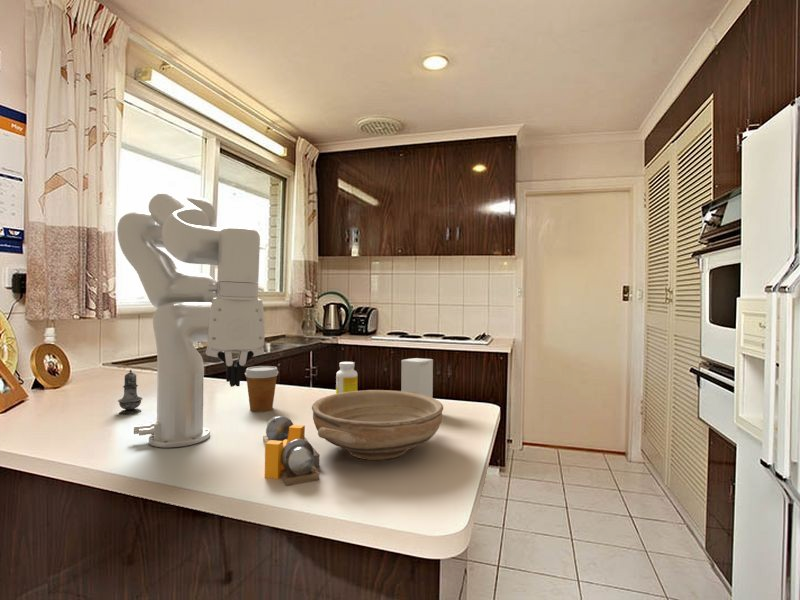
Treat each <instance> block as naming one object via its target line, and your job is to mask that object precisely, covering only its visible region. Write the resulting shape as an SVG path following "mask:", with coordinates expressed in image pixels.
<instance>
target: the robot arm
mask: <svg viewBox="0 0 800 600" xmlns="http://www.w3.org/2000/svg"><path fill="white" fill-rule="evenodd" d="M216 219H217V218H216V210H215V207H214V206H213V204H212V203H211V202H210V201H209V200H207V199H205V198H202V197H197V196H192V195H186V194H182V193H176V192H167V191H166V192H165V191H164V192H160V193H157V194H155V195H153V196H152V198H151V199H150V200H149V203H148V212H146V211H145V212H144V211H135V212H129V213H126V214H124V215H123V216H121V217H120V218H119V221H118V224H117V234H116V235H117V239H118V243H119V247H120V250H121V252H122V254H123V255H124V257H125V259H126V260H127V261H128V263H129V264H130V265H131V267H132V268H133V269H134V271H136V274H137V275H138V278H139V280H140V282H141V285H142V286H143V289H144V291H145V293H146V296H147V297H148V300H149V302H150V304H151V305H152V306H153V307H154V308H156V310H155V311H154V313H153V316H152V326H153V332H154V337H155V344H156V356H157V357H156V359H157V360H156V362H157V363H156V364H157V365H156V366H157V371H156V372H157V373H156V375H157V380H156V381H157V387H156V418H155V420H154V422H150V424H137V425H135V424H134V425H133V435H138V436H145V435H146V436H147V435H150V436H149V437H148V444H149V445H151V446H153V447H156V448H180V447H181V448H182V447H187V446H191V445H196V444H199V443H201V442H204V441H205V440H207V439H208V438H209V437H211V430H210V429H209V428H208V427H205V426H204V383H205V382H204V378H205V377H204V376H205V375H204V373H205V371H204V370H205V366H204V359H203V357H202V355H201V353H200V352H199V351H198V350H197V349H196V347H195V345H194V344H196V343H203V342H205V343H206V342H207V346H206V350H205V355H206V356H208V357H212V358H218V359H219V360H220V361H222V362H223V364H225V365H226V377H225V378H226V382H228V383H229V385H230V387H232V388H233V387H235V386H236V387H240V386H241V385H240V383H241V382H243V381H244V370H245V365H246V363H248V362H249V360H250V359H252V358H253V357H257V356H260V355H263V354H264V353H265V348H264V346H265V313H264V312H265V311H264V303H263V299H260V298H259V274H260V272H259V271H260V251H261V250H260V249H261V247H260V245H261V236H260V234H259V232H258V231H257V230H255V229H254V228H253V229H252V228H248V227H241V226H227V227H226V226H225V227H223V228H219V227H218V228H217V227H214V225H215V222H216ZM159 248H164V249H165V250H166V251H167V252H168V253H169V254H170V255H171V256H172V257H173V258H175V259H176V260H178V261H180V262H183V263H185V264H194V265H195V264H196V265H212V266H217V277H216V278H217V280H215V279H214V278H213V277H212V276H210V275H208V274H205V273H200V272H199V273H197V272H185V271H180V270H178V267H177V266H176V264H175V262H174V260H173V259H172V258H171V257H170V256H169V255H168V254H167V253H165V252H164V251H163V250H161V249H159ZM233 352H239V353H238V357H237V360H236V362H234V361H233V354H232V353H233Z"/></svg>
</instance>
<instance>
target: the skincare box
mask: <svg viewBox="0 0 800 600" xmlns="http://www.w3.org/2000/svg"><path fill="white" fill-rule="evenodd" d="M400 363H401V369H400V370H401V376H400V377H401V378H400V379H401V380H400V381H401V385H400V386H401V390H400V391H403V392H417V393H419V394H421V395H425V396H428V397H431V398H433V392H434V389H433V387H434V385H433V384H434V383H433V382H434V381H433V378H434V376H433V375H434V372H433V371H434V370H433V369H434V359H432V358H421V357H420V358H418V357H415V358H414V357H413V358H407V359H406V358H405V359H401V362H400Z"/></svg>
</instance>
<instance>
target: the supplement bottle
mask: <svg viewBox="0 0 800 600" xmlns="http://www.w3.org/2000/svg"><path fill="white" fill-rule="evenodd" d="M355 363H356V362H355V361H354V362H353V361H341V362H339V363H338V364H339V370H338V371H337V372H336V376H335V379H336V380H335V383H336V384H335V394H338V393H344V392H351V391H358V378H359V377H358V372H357V370H355Z"/></svg>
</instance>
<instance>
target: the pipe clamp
mask: <svg viewBox="0 0 800 600" xmlns="http://www.w3.org/2000/svg"><path fill="white" fill-rule="evenodd" d="M305 427H306V426H305V425H303V424H293V425H292V426H290V427H289V435H288V439H285V440H283V441H276V440H270V441H268V442H267V443H265V444H264V479H272V480H273V479H274V480H279V478H282V477H281V470H282V469H285V467H284V466H283V464H282V462H281V454H282V450H283V448H284V447H285V445H286V444H287V443H289V442H290V441H292V440H295V439H304V440H305V438H306V437H305V436H306V435H305Z"/></svg>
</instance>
